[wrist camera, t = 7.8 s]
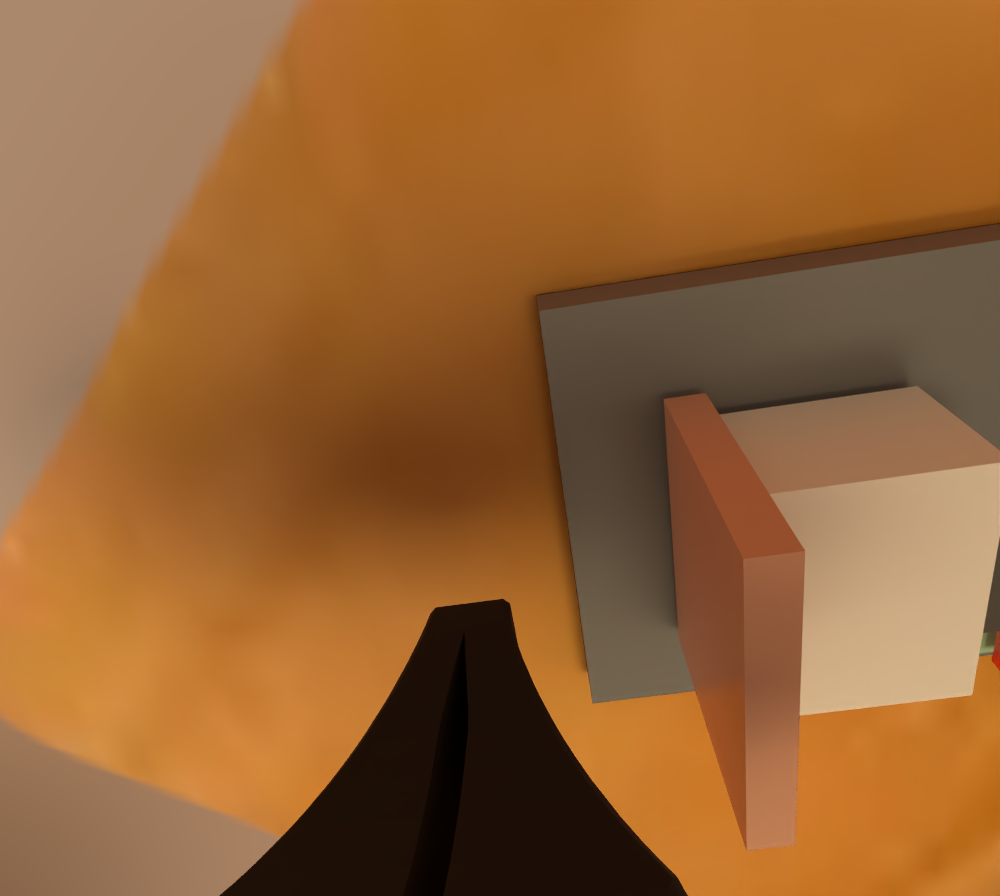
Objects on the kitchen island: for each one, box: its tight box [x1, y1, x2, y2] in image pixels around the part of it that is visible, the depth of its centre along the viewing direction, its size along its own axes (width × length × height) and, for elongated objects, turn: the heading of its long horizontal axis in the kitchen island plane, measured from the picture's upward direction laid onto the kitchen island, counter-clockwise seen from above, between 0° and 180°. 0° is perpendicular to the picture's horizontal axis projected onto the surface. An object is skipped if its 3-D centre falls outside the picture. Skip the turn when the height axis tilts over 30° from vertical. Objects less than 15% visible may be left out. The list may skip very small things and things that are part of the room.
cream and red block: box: [664, 386, 1000, 851], centre depth 14 cm, size 6×8×5 cm
